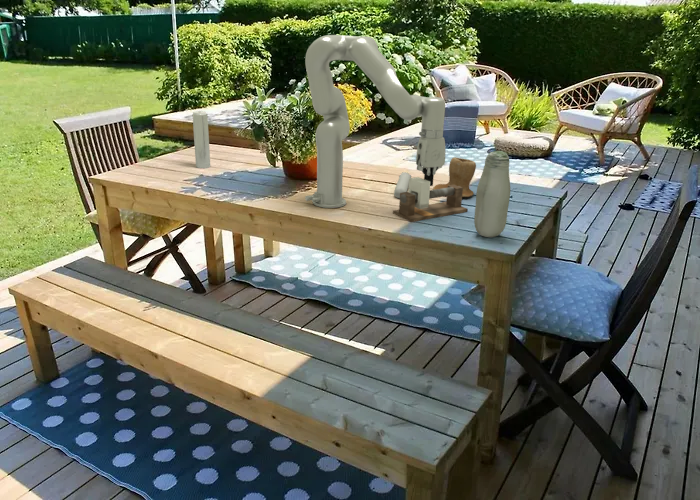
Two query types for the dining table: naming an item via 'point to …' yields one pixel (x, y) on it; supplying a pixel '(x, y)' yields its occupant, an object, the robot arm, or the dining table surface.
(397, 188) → the tube
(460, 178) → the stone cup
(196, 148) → the grey upright post
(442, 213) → the pipe stand
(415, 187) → the cream upright slab
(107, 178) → the dining table surface
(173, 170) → the dining table surface
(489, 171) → the glass bottle
